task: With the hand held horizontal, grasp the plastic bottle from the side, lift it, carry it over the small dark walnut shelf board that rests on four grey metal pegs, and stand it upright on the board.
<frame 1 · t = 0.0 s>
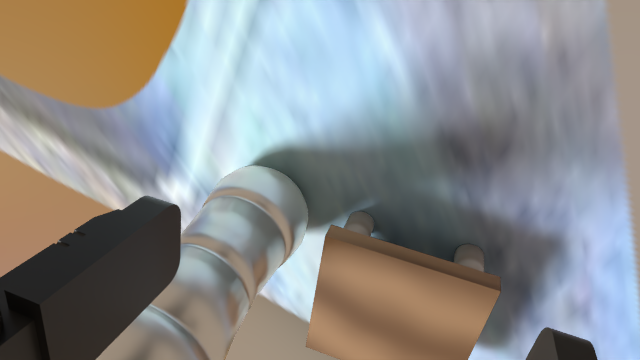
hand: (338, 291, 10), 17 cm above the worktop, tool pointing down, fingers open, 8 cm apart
pegged shelf: (401, 278, 31), on the worktop
plastic bottle: (274, 195, 31), on the worktop
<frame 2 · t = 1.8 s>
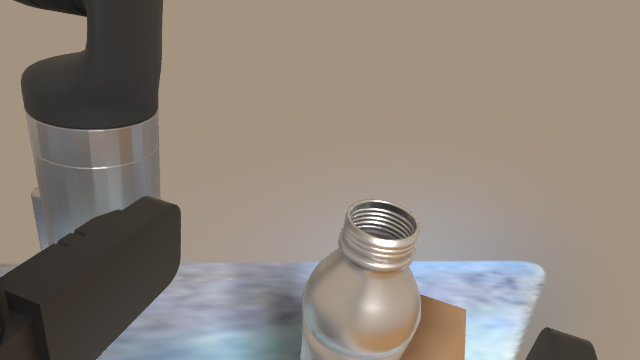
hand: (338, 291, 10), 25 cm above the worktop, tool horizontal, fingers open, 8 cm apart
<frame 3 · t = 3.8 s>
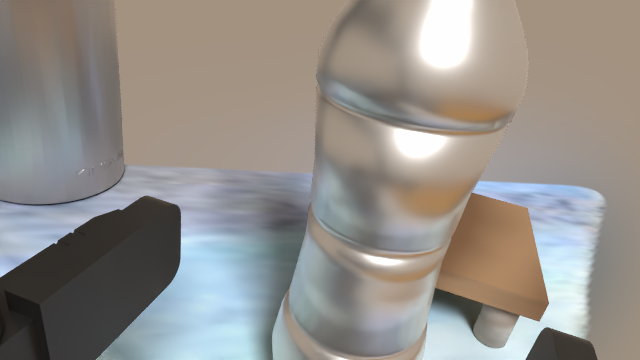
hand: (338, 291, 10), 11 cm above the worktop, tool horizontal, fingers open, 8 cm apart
pegged shelf: (430, 276, 28), on the worktop
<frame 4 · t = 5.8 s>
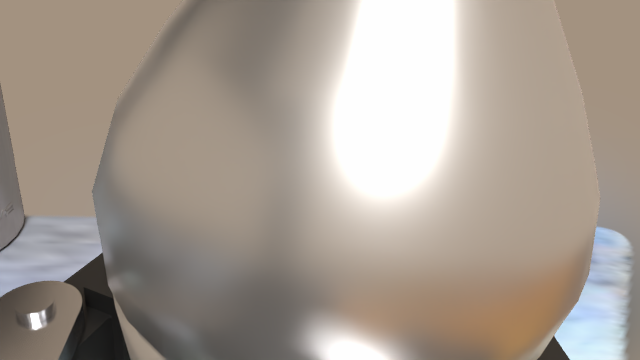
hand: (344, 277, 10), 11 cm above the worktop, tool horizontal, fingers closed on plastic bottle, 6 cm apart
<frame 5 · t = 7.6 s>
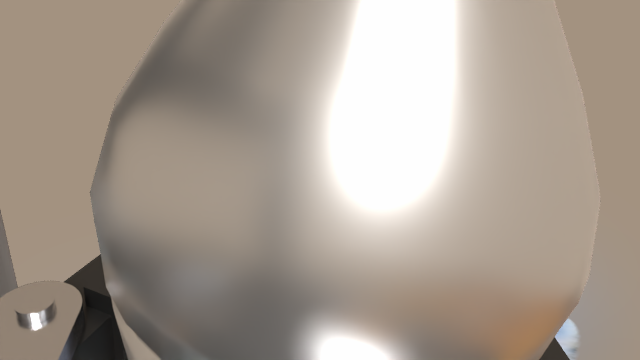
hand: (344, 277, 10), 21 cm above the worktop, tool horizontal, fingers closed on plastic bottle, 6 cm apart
when the fingers open (16 cm above the worktop, at t = 9.6 s): plastic bottle stays where it is, resting on pegged shelf.
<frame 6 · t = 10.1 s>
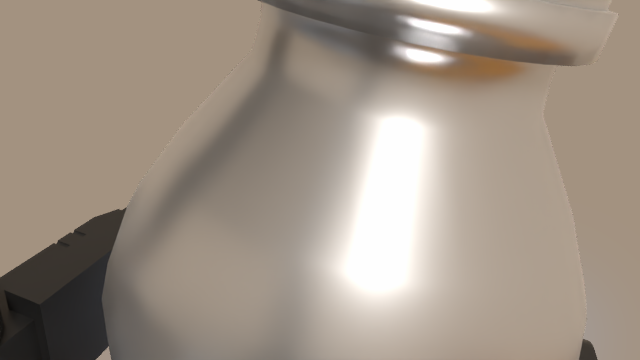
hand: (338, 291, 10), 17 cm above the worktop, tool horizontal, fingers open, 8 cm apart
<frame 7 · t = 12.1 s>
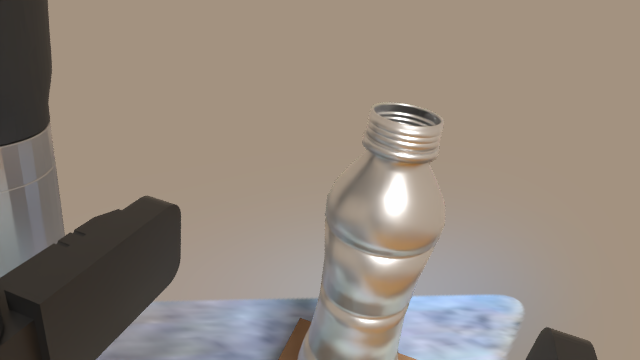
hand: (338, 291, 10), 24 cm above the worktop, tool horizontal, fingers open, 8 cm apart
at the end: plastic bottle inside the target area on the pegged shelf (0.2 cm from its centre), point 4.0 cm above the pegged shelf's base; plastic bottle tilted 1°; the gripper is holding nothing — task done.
